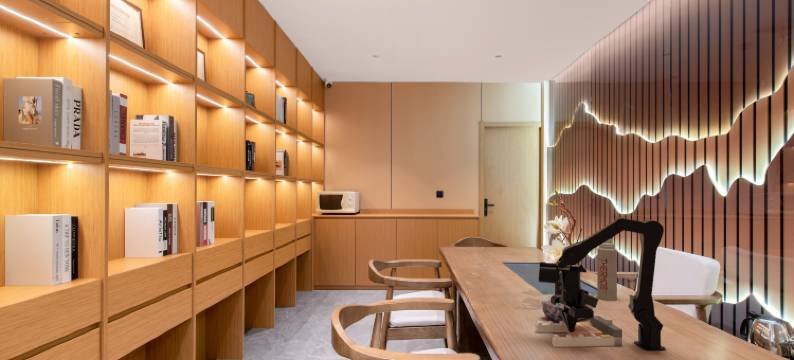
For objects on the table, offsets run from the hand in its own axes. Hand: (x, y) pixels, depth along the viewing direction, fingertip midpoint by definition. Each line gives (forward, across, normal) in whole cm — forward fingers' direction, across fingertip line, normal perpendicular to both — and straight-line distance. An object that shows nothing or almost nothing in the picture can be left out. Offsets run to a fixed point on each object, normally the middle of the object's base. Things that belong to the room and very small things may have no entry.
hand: (571, 332), depth 144 cm
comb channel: (+2, 0, -2) cm, 3 cm away
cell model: (+2, +22, -9) cm, 23 cm away
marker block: (+2, 0, -4) cm, 5 cm away
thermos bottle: (+2, +50, -41) cm, 65 cm away
